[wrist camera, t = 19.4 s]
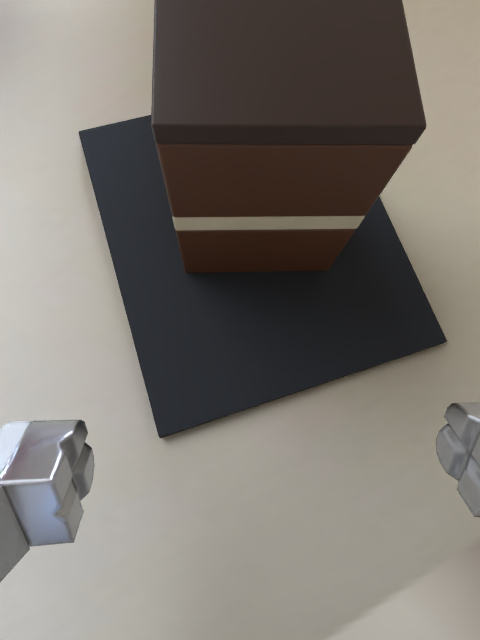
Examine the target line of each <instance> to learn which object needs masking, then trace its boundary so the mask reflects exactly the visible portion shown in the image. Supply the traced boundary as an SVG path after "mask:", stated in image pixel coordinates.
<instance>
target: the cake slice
mask: <svg viewBox="0 0 480 640" xmlns="http://www.w3.org/2000/svg"><path fill="white" fill-rule="evenodd" d="M151 127H152V131H153V135H154V140H155V142H156V147H157V152H158V156H159V160H160V165H161V169H162V174H163V178H164V182H165V187H166V191H167V196H168V200H169V204H170V209H171V213H172V218H173V223H174V227H175V231H176V235H177V239H178V244H179V248H180V253H181V257H182V261H183V266H184V270H185V272H186V273H210V272H274V271H327V270H329V268H330V267H331V265H332V264H333V262H334V261H335V259H336V258H337V257H338V255H339V254H340V252H341V251H342V249H343V248H344V246H345V245H346V243H347V242H348V240H349V239H350V237H351V236H352V235H353V233H354V232H355V230H356V228H358V226H359V225H360V223H361V222H362V220H363V219H364V217H365V215H366V214H367V213H368V211H369V210H370V208H371V207H372V205H373V204H374V202H375V201H376V199H377V198H378V196H379V195H380V193H381V192H382V191H383V189H384V188H385V186H386V185H387V183H388V182H389V180H390V179H391V177H392V176H393V174H394V173H395V171H396V170H397V169H398V167H399V166H400V164H401V163H402V161H403V160H404V158H405V157H406V155H407V154H408V152H409V151H410V149H411V148H412V145H413V144H415V143H416V142H417V140H418V139H419V137H420V136H421V134H422V133H423V132H424V130H425V129H426V120H425V115H424V110H423V105H422V100H421V95H420V90H419V85H418V79H417V74H416V69H415V64H414V59H413V54H412V49H411V44H410V39H409V33H408V28H407V23H406V18H405V13H404V8H403V3H402V0H155V6H154V41H153V76H152V112H151Z"/></svg>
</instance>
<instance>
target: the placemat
mask: <svg viewBox="0 0 480 640" xmlns="http://www.w3.org/2000/svg"><path fill="white" fill-rule="evenodd" d="M79 136H80V139H81V143H82V147H83V151H84V154H85V158H86V162H87V166H88V170H89V173H90V177H91V181H92V185H93V189H94V192H95V196H96V200H97V204H98V208H99V211H100V215H101V219H102V223H103V226H104V230H105V234H106V238H107V242H108V245H109V249H110V253H111V257H112V261H113V264H114V268H115V272H116V276H117V280H118V283H119V287H120V291H121V295H122V298H123V302H124V306H125V310H126V314H127V317H128V321H129V325H130V329H131V333H132V336H133V340H134V344H135V348H136V352H137V355H138V359H139V363H140V367H141V370H142V374H143V378H144V382H145V386H146V389H147V393H148V397H149V401H150V405H151V408H152V412H153V416H154V420H155V424H156V427H157V431H158V435H159V438H162V437H165V436H168V435H171V434H174V433H177V432H180V431H183V430H186V429H189V428H192V427H195V426H198V425H201V424H204V423H207V422H210V421H213V420H216V419H219V418H222V417H225V416H228V415H231V414H234V413H237V412H240V411H243V410H245V409H248V408H251V407H254V406H257V405H260V404H263V403H266V402H269V401H272V400H275V399H278V398H281V397H284V396H287V395H290V394H293V393H296V392H299V391H302V390H305V389H308V388H311V387H314V386H317V385H320V384H323V383H326V382H329V381H332V380H335V379H338V378H341V377H344V376H347V375H350V374H353V373H356V372H359V371H362V370H365V369H368V368H371V367H374V366H377V365H380V364H383V363H386V362H389V361H392V360H395V359H398V358H401V357H404V356H407V355H410V354H413V353H416V352H419V351H422V350H425V349H428V348H431V347H434V346H437V345H440V344H443V343H445V342H447V340H446V338H445V336H444V334H443V332H442V329H441V327H440V325H439V323H438V321H437V319H436V317H435V314H434V312H433V310H432V308H431V306H430V304H429V302H428V300H427V297H426V295H425V293H424V291H423V289H422V287H421V285H420V283H419V280H418V278H417V276H416V274H415V272H414V270H413V268H412V265H411V263H410V261H409V259H408V257H407V255H406V253H405V251H404V248H403V246H402V244H401V242H400V240H399V238H398V236H397V233H396V231H395V229H394V227H393V225H392V223H391V221H390V219H389V216H388V214H387V212H386V210H385V208H384V206H383V204H382V201H381V199H380V197H379V196H378V198H377V199H376V201H375V202H374V204H373V205H372V207H371V208H370V210H369V211H368V213H367V214H366V215H365V217H364V219H363V220H362V222H361V223H360V225H359V226H358V228H356V230H355V232H354V233H353V235H352V236H351V237H350V239H349V240H348V242H347V243H346V245H345V246H344V248H343V249H342V251H341V252H340V254H339V255H338V257H337V258H336V259H335V261H334V262H333V264H332V265H331V267H330V268H329V270H327V271H274V272H210V273H186V272H185V270H184V266H183V261H182V257H181V253H180V248H179V244H178V239H177V235H176V231H175V227H174V223H173V218H172V213H171V209H170V204H169V200H168V196H167V191H166V187H165V182H164V178H163V174H162V169H161V165H160V160H159V156H158V152H157V147H156V142H155V140H154V135H153V131H152V127H151V115H149V116H144V117H140V118H136V119H131V120H127V121H122V122H118V123H113V124H109V125H105V126H100V127H96V128H91V129H87V130H83V131H79Z"/></svg>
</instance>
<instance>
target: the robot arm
mask: <svg viewBox="0 0 480 640" xmlns="http://www.w3.org/2000/svg"><path fill="white" fill-rule="evenodd" d="M444 417H445V419H446V421H447V423H448V424H447V425H445V426H444V427H443V428H442V429H441V430H439V432H438V436H437V439H436V450H437V455H438V458H439V461H440V463H441V465H442V467H443V468H444V470H445V471H446V473H448V474H449V475H451V476H452V477H453V478H455V479H456V480H458V486H457V491H458V492H459V494H460V495H461V497H462V498H463V500H464V501H465V503H466V505H467V506H468V508H469V509H470V511H471V512H472V514H473V515H474V517H480V402H468V403H452V404H451V405H450V406H449V407H448V408H447V410H446V412H445V415H444ZM87 434H88V431H87V428H86V425H85V422H84V421H82V420H50V421H32V422H8V423H7V424H5V425H4V426H3V427H2V428H1V430H0V582H1V581H2V580H3V579H4V577H5V576H6V575H7V574H8V573H9V572H10V571H11V570H12V569H13V567H14V566H15V565H16V564H17V563H18V562H19V561H20V560H21V558H22V557H23V556H24V555H25V554H26V553H27V552H28V551H29V550H30V548H29V546H40V545H51V544H62V543H73V542H74V540H75V537H76V534H77V531H78V528H79V524H80V521H81V518H82V515H83V508H82V505H81V500H82V499H83V498H84V497H85V496H86V495H87V494H88V493H89V492H90V488H91V485H92V481H93V474H94V455H93V451H92V448H91V447H90V446H89V445H88V444H86V443H85V440H86V437H87Z"/></svg>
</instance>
